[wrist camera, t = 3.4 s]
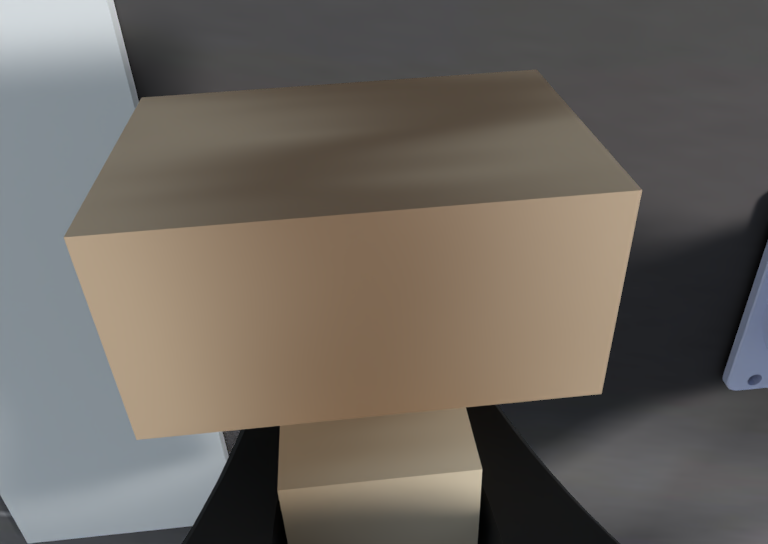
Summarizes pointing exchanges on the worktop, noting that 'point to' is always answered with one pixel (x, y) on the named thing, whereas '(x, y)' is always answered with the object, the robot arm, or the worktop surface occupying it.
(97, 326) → the tan boxy piece
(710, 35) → the worktop surface
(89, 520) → the grey mat
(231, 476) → the robot arm
